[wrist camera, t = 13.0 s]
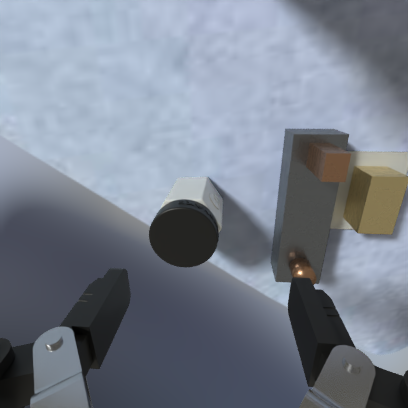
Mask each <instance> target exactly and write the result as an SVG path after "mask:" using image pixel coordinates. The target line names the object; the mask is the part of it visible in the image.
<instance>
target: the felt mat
mask: <svg viewBox="0 0 408 408" xmlns="http://www.w3.org/2000/svg"><path fill="white" fill-rule="evenodd" d="M347 152H349V153H351V158H350V163H349V167H348V172H347V177H346V181H345V182H339V187H338V192H337V196H336V201H335V206H334V211H333V216H332V221H331V226H330V229H353V228H352V227H351V225H350V224H349V223H348V222H347V221H346V220H345V219H344V218H343V215H344V210H345V206H346V201H347V197H348V192H349V188H350V183H351V179H352V174H353V170H354V166H387V167H389V168H392V169H394V170H396V171H398V172H400V173H402V174H404V175H406V174H407V171H408V152H369V151H347Z"/></svg>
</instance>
